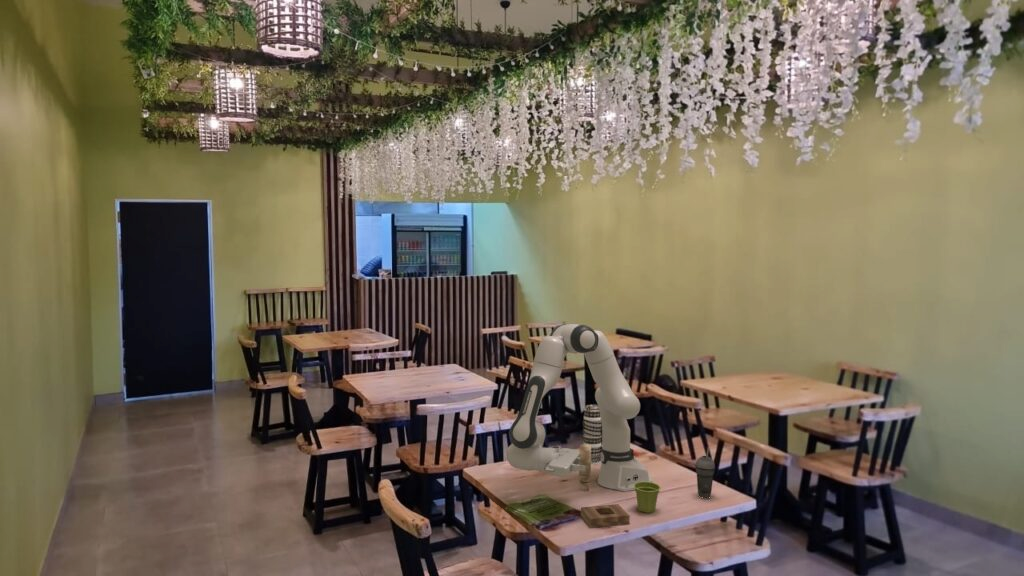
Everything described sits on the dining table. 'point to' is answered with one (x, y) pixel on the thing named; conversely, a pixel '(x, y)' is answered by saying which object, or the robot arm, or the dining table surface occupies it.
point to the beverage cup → (705, 475)
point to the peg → (586, 460)
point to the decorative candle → (593, 431)
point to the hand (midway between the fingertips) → (587, 465)
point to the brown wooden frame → (605, 515)
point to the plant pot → (646, 496)
